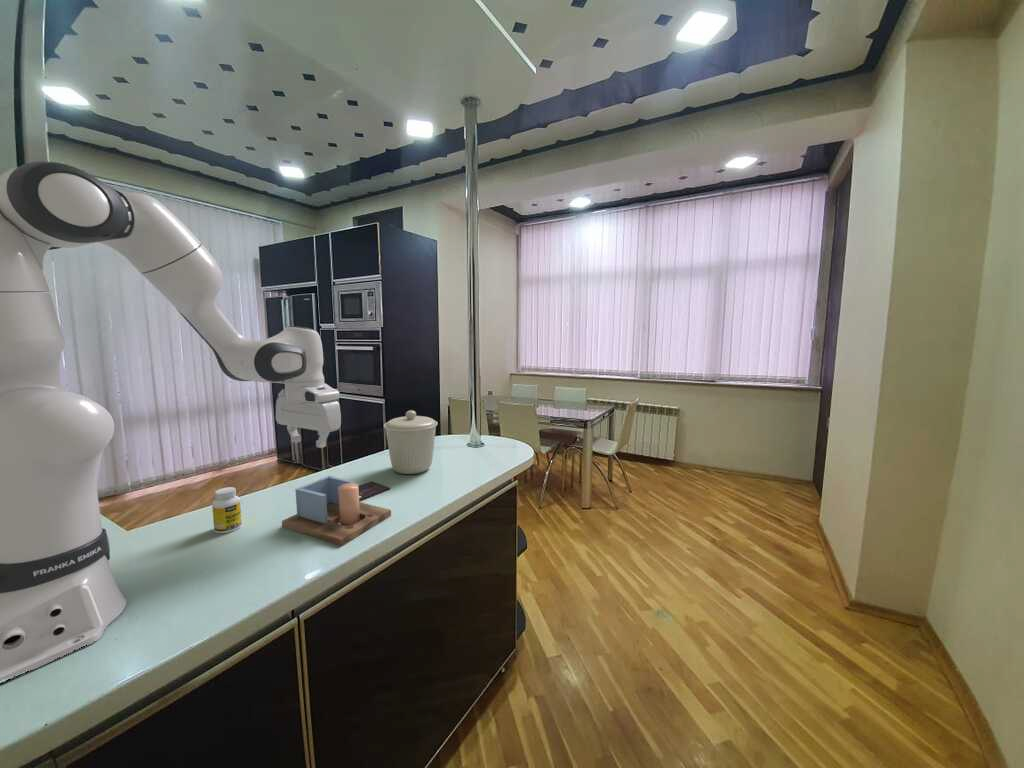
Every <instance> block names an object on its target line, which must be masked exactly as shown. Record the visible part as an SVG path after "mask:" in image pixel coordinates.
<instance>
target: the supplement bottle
mask: <svg viewBox="0 0 1024 768" xmlns="http://www.w3.org/2000/svg"><path fill="white" fill-rule="evenodd" d="M236 494H237V490H236V487H233V486H228V487H223V488H220V489H217V490H215V491H214V497H215V499H214V500H213V502H212V504H211V505H212V506H211V507H212V508H211V509H212V518H213V519H212V520H213V530H214V532H215V533H216V534H228V533H232V532H235V531H237V530H239V529H240V528H241V527H242V521H243V520H242V508H241V498H240V497H239V496H237V495H236Z"/></svg>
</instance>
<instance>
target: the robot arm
mask: <svg viewBox="0 0 1024 768" xmlns="http://www.w3.org/2000/svg"><path fill="white" fill-rule="evenodd" d="M92 243H93V244H94V243H101V244H103V245H105V246H108V247H110V248H112V249H113V250H115V251H117V252H118V253H119V254H120V255H122V256H124V257H125V258H126V259H127V260H128V262H129V263H130V264H131V265H132V266H133V267H134V268H135V269H136V270H137V271H138V272H139V273H140V274H141V275H142V276H143V277H144V278H145V279H146V280H147V281H148V282H149V283H150V284H151V285H152V286H153V287H155V288H156V290H157V291H159V293H160V294H162V295H163V297H165V298H166V299H167V301H169V303H170V304H171V305H172V306H174V308H175V309H176V311H178V313H179V314H180V315H181V317H183V319H184V320H185V321H186V322H187V323H188V324H189V325H190V327H192V329H193V330H194V331H195V332H196V333H197V334H198V335H199V336H200V337H201V339H202V340H203V341H204V342H205V343H206V344H207V345H208V346H209V348H210V349H211V350H212V352H213V354H214V356H215V359H216V361H217V363H218V366H219V367H220V369H221V371H222V372H223V374H225V375H226V376H227V377H228V378H230V379H232V380H235V381H238V382H259V383H279V382H283V381H284V388H282V389H281V390H280V392H279V393H278V397H277V399H276V403H275V420H276V423H277V424H278V425H282V426H286V428H287V429H286V430H287V431H288V433H289V436H290V442H292V443H293V444H294V443H295V444H298V443H301V441H302V435H301V434H299V432H298V428H300V429H305V430H311V431H317V435H318V440H317V439H316V440H315V446H316V448H320V449H323V448H325V447H326V446H327V439H328V437H329V434H330V433H331V432H335V431H338V430H339V429H340V428H341V425H342V414H341V412H342V411H341V406H340V403H339V401H338V400H339V399H340V392H339V390H337V389H335V388H333V387H332V386H330V385H329V384H327V383H325V376H324V373H323V367H324V351H323V350H324V349H323V343H322V339H321V336H320V334H319V332H318V331H316V330H315V329H312V328H309V327H305V326H297V325H290V326H286V327H285V328H284V329H283V330H282V331H280V332H279V333H277V334H276V335H273V336H271V337H268V338H265V339H264V340H257V339H256V340H255V339H250V338H248V337H245V336H244V335H242V334H240V333H239V332H238V331H237V329H236V328H235V327H234V326H233V324H232V323H231V322H230V321H229V320H228V318H227V317H226V316H225V315H224V314H223V312H222V311H221V310H220V308H219V307H218V304H217V302H216V296H217V295H218V294H219V293H220V291H221V289H222V286H223V280H224V279H223V278H224V277H223V272H222V270H221V268H220V267H219V264H218V263H217V261H216V259H215V258H214V256H212V254H211V252H209V251H208V249H207V248H206V247H205V246H204V244H202V243H201V241H200V240H199V239H198V238H197V237H196V236H195V234H194V233H193V231H191V230H190V229H189V228H188V227H187V226H186V225H185V224H184V223H183V222H182V221H181V220H180V219H179V218H178V217H177V216H176V215H175V214H173V213H172V211H170V210H169V209H168V208H167V207H165V205H164V204H163V203H161V202H160V201H159V200H158V199H156V198H155V197H153V196H152V195H151V196H150V195H149V194H146V193H141V192H121V191H119V190H117V189H115V188H113V187H111V186H109V185H108V184H105V183H104V182H103V181H101V180H100V179H98V177H95V176H93V175H92V174H90V173H88V172H86V171H84V170H82V169H80V168H78V167H75V166H72V165H70V164H66V163H63V162H62V163H61V162H55V161H46V160H45V161H32V162H31V161H30V162H28V163H24V164H21V165H20V166H17V167H12V168H8V169H6V170H4V171H2V172H0V681H1V680H3V679H7V678H10V677H13V676H16V675H18V674H21V673H23V672H27V671H29V672H31V671H33V670H36V669H38V668H40V667H42V666H44V665H46V664H49V663H51V662H53V661H55V659H56V660H57V658H58V659H60V658H62V657H65V656H67V655H69V654H71V653H74V652H75V651H74V650H76V651H78V650H80V649H82V648H81V647H83V646H85V647H87V646H90V645H91V644H93V643H95V642H96V641H98V640H99V639H100V638H101V636H102V635H103V633H104V632H105V629H106V628H107V627H108V626H109V625H110V624H111V623H112V622H113V621H114V620H116V619H117V617H119V615H120V614H122V612H123V611H124V609H125V608H126V606H127V599H126V597H125V596H124V595H123V593H122V592H121V590H120V588H119V586H118V584H117V581H116V579H115V577H114V574H113V572H112V569H111V566H110V562H109V561H110V560H111V559H110V558H111V555H110V553H111V548H110V547H111V546H110V541H109V536H108V534H107V530H106V528H104V527H103V525H102V520H101V519H102V518H101V509H100V503H99V493H98V481H99V473H100V467H101V462H102V461H101V460H102V456H103V452H104V449H105V448H106V447H107V446H108V445H109V443H110V442H111V440H112V438H113V436H114V434H115V422H114V419H113V417H112V415H111V413H110V412H109V411H108V410H107V409H106V408H105V407H103V406H102V405H101V404H99V403H98V402H96V401H94V400H92V399H91V398H89V397H87V396H85V395H82V394H79V393H76V392H71V391H65V390H63V389H62V386H61V374H60V372H61V368H60V367H61V356H62V352H63V350H64V348H65V339H64V336H63V335H64V334H63V331H62V329H61V326H60V325H61V324H60V322H59V318H58V314H57V312H56V309H55V306H54V301H53V298H52V295H51V292H50V287H49V285H48V282H47V280H46V277H45V274H44V271H43V270H44V263H43V262H44V258H45V255H46V253H47V251H50V250H58V249H62V248H64V249H65V248H66V249H69V248H71V249H72V248H78V247H83V246H86V245H90V244H92ZM94 641H95V642H94ZM86 645H87V646H86ZM79 648H80V649H79ZM83 648H84V647H83ZM77 649H78V650H77ZM73 651H74V652H73ZM68 653H69V654H68ZM66 654H67V655H66ZM64 655H65V656H64ZM59 657H60V658H59ZM30 670H31V671H30ZM27 673H28V672H27Z"/></svg>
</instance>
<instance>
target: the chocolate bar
mask: <svg viewBox="0 0 1024 768" xmlns="http://www.w3.org/2000/svg"><path fill="white" fill-rule="evenodd" d="M389 490H391V487H389V486H386V485H383V484H382V483H381V484H380V483H378V482H375V481H373V480H372V481H369V482H366V483H364V484H360V485H359V502H362V501H365V500H367V499H370V498H372V497H375V496H377V495H381V494H382V493H385V492H388V491H389Z"/></svg>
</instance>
